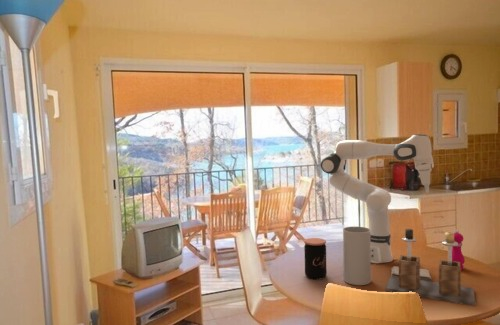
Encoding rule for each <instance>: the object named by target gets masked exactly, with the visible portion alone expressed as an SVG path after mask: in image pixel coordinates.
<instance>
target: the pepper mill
mask: <svg viewBox="0 0 500 325" xmlns="http://www.w3.org/2000/svg"><path fill="white" fill-rule="evenodd" d="M453 233H454V241H455V242H457V243H458V245H457V246H452V261H455V262H460V266H461V271H463V270H464V264H465V261H466V260H465V257H464V254H463V252H462V246H463V241H464V236H463V235H462V234H461V233H460V232H459V230H458V229H454V232H453Z"/></svg>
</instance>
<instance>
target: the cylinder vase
mask: <svg viewBox="0 0 500 325" xmlns="http://www.w3.org/2000/svg"><path fill="white" fill-rule="evenodd" d="M342 242H343V244H342V245H343V246H342V247H343V248H342V250H343V251H342V253H343V255H342V256H343V281H344V282H346V283H347V284H349V285H353V286H366V285H369V284H370V283H371V281H372V270H371V269H372V267H371V266H372V264H371V242H370V229H369V227H363V226H355V225H353V226H346V227H343V228H342Z"/></svg>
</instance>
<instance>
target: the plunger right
mask: <svg viewBox="0 0 500 325" xmlns="http://www.w3.org/2000/svg"><path fill="white" fill-rule="evenodd" d="M454 233H455V232H450V231H447V232H446V231H445V240H442V241H441V245H443V246H446V247H447V261H448V266H452V246H457V245H458V243H457V242H455V241H454Z"/></svg>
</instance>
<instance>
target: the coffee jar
mask: <svg viewBox="0 0 500 325" xmlns="http://www.w3.org/2000/svg"><path fill="white" fill-rule="evenodd" d="M303 241H304V250H303V251H304V274H305V276H306V278H308V279H311V280H323V279H325V278H326V276H327V272H328V270H327V245H326V243H327V241H326V239H324V238H320V237H309V238H306V239H304V240H303Z"/></svg>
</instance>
